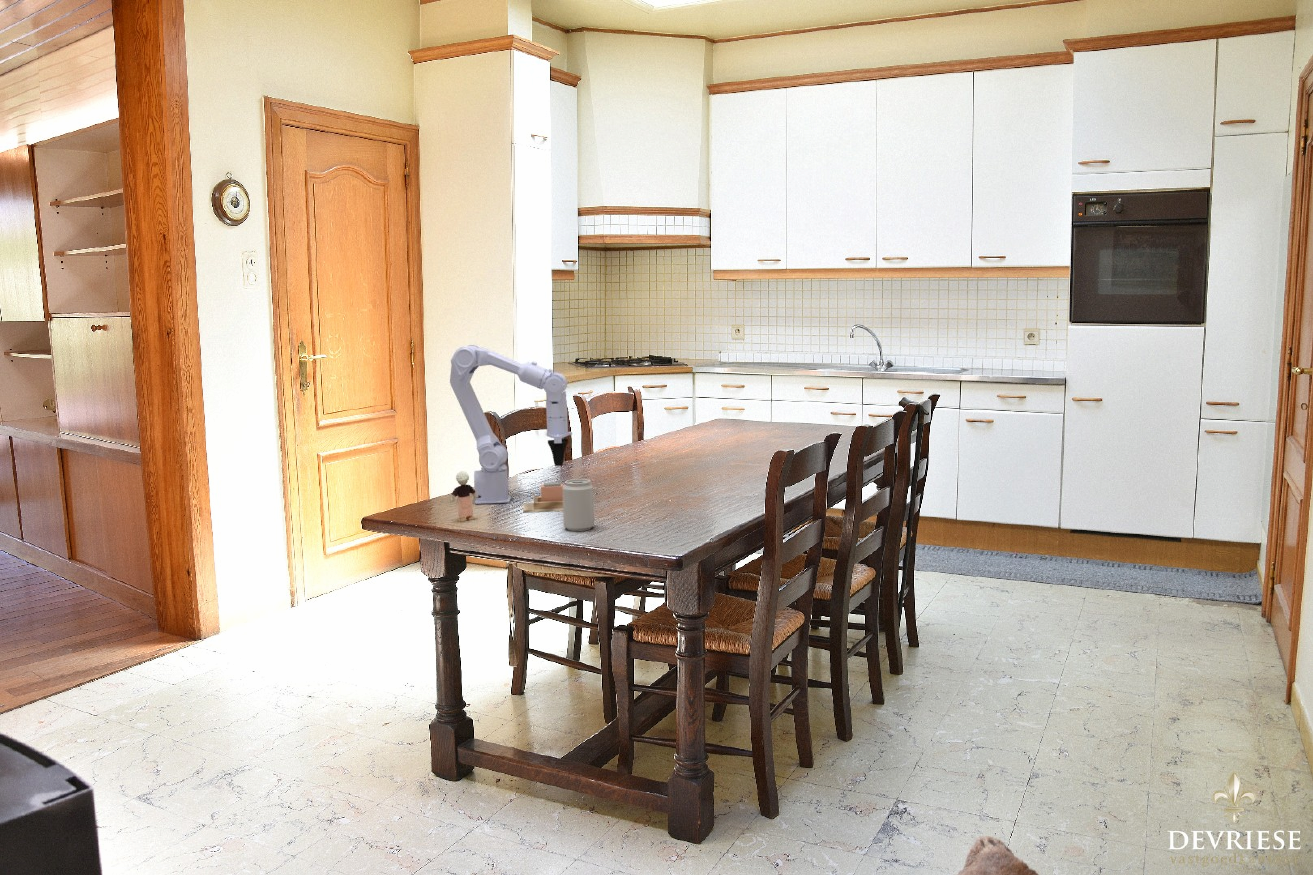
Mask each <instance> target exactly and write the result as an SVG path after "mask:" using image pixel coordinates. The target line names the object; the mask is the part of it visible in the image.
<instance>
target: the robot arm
mask: <svg viewBox="0 0 1313 875" xmlns="http://www.w3.org/2000/svg"><path fill="white" fill-rule="evenodd" d="M450 363H451V364H450V365H451V368H450V376H449V384H450V387H451V388H452V390H453V393H454V395H455V398H456V399H457V401H458V403H459V404H458V405H459V406H460V409H461V410H462V412H463V414H464V417H465V419H466V421H467V423H468V426H469V428H470V430H471V432H472V435H473V436H474V438H475V441H476V450H477V452H478V462H479V464H480V466H481V468H480V470H474V473H473V484H474V486H473V487H474V488H473V489H474V490H475V492H476V494H477V496H478V498H477V499H475V498H474V504H475V505H480V504H481V505H482V504H503V503H504V504H505V503H507V504H508V503H510V502H511V495H509V481H508V480H509V478H508V474H509V473H508V466H507V465H506V462H507V460H508V459H509V458H508V457H509V452H508V449H507V448H506V447H505V446H504V445H503V444H502V443H501V442H500V440H499V438H498V437H497V436H496V434H494V431H493V430H492V427H491V424H489V421H488V419H487V417H486V415H485V412H484V410H483V408H482V406H481V404H480V402H479V399H478V397H477V394H476V392H475V390H474V388H473V386H472V384H471V380H472V378H473V376H474V373H475V372H476V371H477V369H478V368H479V367H483V366H484V367H485V366H493V367H496V368H498V369H500V370H503V371H505V372H509V373H511V374H514V375H516V376H517V377H518V378H519V381H521V382H522V383H524V384H527V385H530V386H532V387H534V388H537V389H540V390H544V391H545V393H546V394H545V396H546V397H545V398H546V400H545V410H546V412H545V413H546V437H548V438H551V439H549V440H547V444H548V446H549V449H550V451H551V454H552V458H553V463H554V466H555V467H559V466H560V467H561V466H563V465H564V458H565V452H566V448H567V445H568V444H569V439H568V438H566V437H568V436H572V435H573V432H572V431H569V428H568V427H569V425H568V402H567V390H566V389H567V388H568V380H567V378H566V376H565V375H564V374H562V373H561V372H558V371H556V372H553V371H554V369H551V368H549V369H547V368H545V367H541V366H539V365H538V363H537V362H535V361H532V362H530V361H526V362H525V363H520V362H518V361H515V360H513V359H511V358H509V357H507V356H504V355H503V354H500V353H498V352H496V351H495V350H490V349H488V348H484V347H479V346H478V345H475V344H470V345H467V346H460V347H459V348H457V349H456V350H455V352H454V353H453V355H452V357H451V359H450Z"/></svg>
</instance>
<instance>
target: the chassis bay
mask: <svg viewBox="0 0 1313 875" xmlns="http://www.w3.org/2000/svg"><path fill="white" fill-rule="evenodd" d="M522 511H523V512H522V513H524V514H525V513H546V512H563V501H548V502H541V496H533V502H532V503H523V510H522Z"/></svg>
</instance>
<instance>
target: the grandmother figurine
mask: <svg viewBox="0 0 1313 875" xmlns="http://www.w3.org/2000/svg"><path fill="white" fill-rule="evenodd" d="M455 480H456V481H457V483H458V484H459V486H457V487H455V488H454V489H453V491H452V492H451V496H450V499H449V500H450V502H451V503H453V502H455V499H456V497H457V506H458V518H457V522H467V521H472V520H475V518H474V513H473V510H474V509H473V504H472V500H471V496H470V495H472V496H473V498H474V500H475V499H477V498H478V496H477V494H476V492H475V488H473V486H472V485H471V484H468V481H469V480H470V476H469V474H468V473H467V472H466V471H459V472H458V473H457V474H456V475H455Z"/></svg>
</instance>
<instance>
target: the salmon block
mask: <svg viewBox="0 0 1313 875" xmlns="http://www.w3.org/2000/svg"><path fill="white" fill-rule="evenodd" d="M563 486H564V483H561V481H559V482H558V481H556V482H553V481H552V482H543V484H540V494H541V495H540V497H541V502H548V501H563V491H562V488H563Z"/></svg>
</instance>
